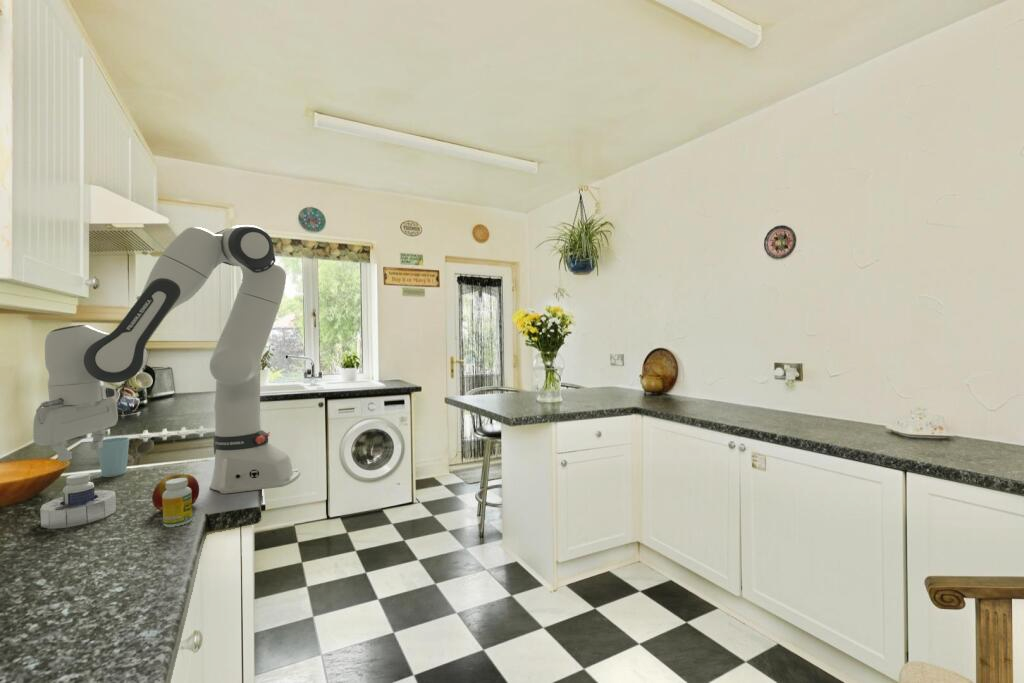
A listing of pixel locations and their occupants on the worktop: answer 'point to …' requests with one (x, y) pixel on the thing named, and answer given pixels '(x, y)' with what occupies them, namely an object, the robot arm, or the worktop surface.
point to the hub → (77, 511)
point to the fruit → (161, 489)
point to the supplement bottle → (177, 503)
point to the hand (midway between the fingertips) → (81, 454)
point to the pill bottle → (78, 489)
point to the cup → (113, 456)
